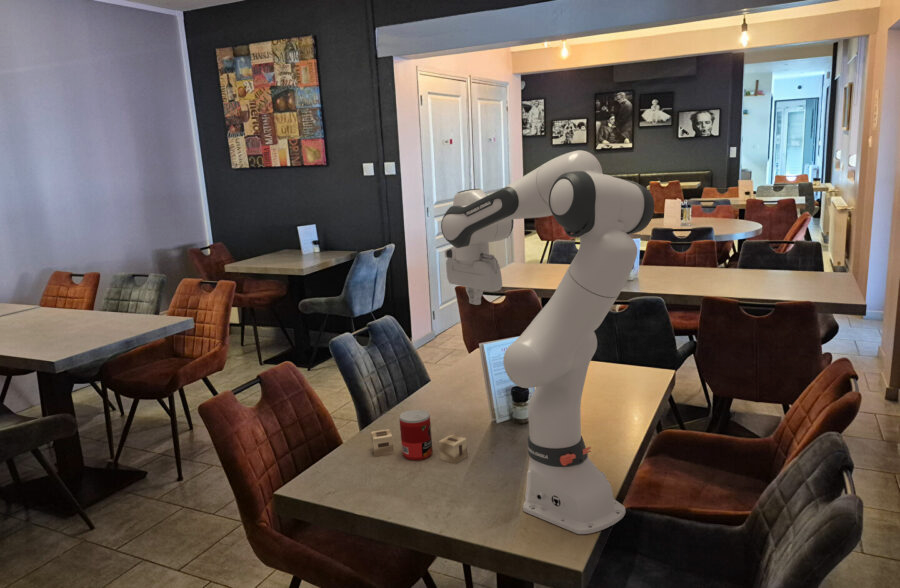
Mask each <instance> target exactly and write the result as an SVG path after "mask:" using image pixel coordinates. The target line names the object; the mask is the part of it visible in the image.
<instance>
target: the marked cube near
mask: <svg viewBox="0 0 900 588" xmlns="http://www.w3.org/2000/svg"><path fill="white" fill-rule="evenodd" d="M467 442H468V441H467V438H466V437H462V436H459V435H455V434H450V435H448V436H445V437H444V438H441V439H440V440H438V447H439V448H438V450H439V459H440V460H442V461H445V462H448V463H450V464H454V465H456V464H457V463H459V462H461V461H462V460H464V459H466V458H468V445H467Z"/></svg>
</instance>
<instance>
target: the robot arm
mask: <svg viewBox="0 0 900 588" xmlns="http://www.w3.org/2000/svg"><path fill="white" fill-rule="evenodd" d="M452 203H453V204H452V206H449V208H447V210H446V211H445V213H444V215H443V217H442V219H441V222H440V230H441V233H442V236H443V237H444V239H445V240H446V242H447V243H449V244H450V245H451V246H452V247H449V248H448V249H445V251H444V257H445V258H446V262H445V267H446V276H447V277H446V278H447V281H448V282H449V284H451V285H455V286H461V287H465V292H466V294H467V297H468V303H469V304H470V305H471V304H472V305H475V306H479V305H481V304H482V297H483V293H484V291H486V292H490V293H492V292H498V291H500V290H502V287H503V280H502V273H501V271H502V270H501V267H500V264H499V261H498V260H497V258H496V257H495V255H494V254H490V247H489V245H490V244H489V243H492V242H500V241H503V240H506V239H507V238H509V236H511V234H512V232H513V229H514V220H518V219H519V220H520V219H536V218H546V217H550V216H553V218H554V219H555V221H556V222H557V224H559V225H560V226H561V227H562V228H563V229H564V232H565V234H566V236H568V237H570V238H573V239H574V238H579V247H578V250H577V253H576V254H575V256H574V258H573V259H572V261H571V262H570V265H569V266H568V268H567V270H566V272H565V273H564V275H563V276H562V278H561V281H560V282H559V284H558V286H557V288H556V289H555V291H554V293H553V295H551V297H550V299H549V300H548V302H547V303H546V304H545V305H544V306H543V308H542V309H541V310H540V311H539V312H538V313H537V315H536V316H535V317H534V318H533V319H532V321H531V322H530V324H529V325H528V326H527V327H526V329H525V330H524V331H523V332H522V333H521V334H520V335H519V336H518V338H516V339H515V341H513V342H512V343H511V344H510V345H509V346H508V347H507V348H506V350H505V351H504V355H503V367H504V370H505V373H506V375H507V377H508V378H509V380H510V381H511V382H512V383H513V384H515V385H516V386H518V387H519V388H522V389H523V388H524V389H532V388H535V389H534V392H533V393H532V395H531V396H530V398H529V402H528V407H527V411H528V414H527V415H528V428H529V429H528V432H529V435H528V436H527V444H526V445H527V454H528V456H529V463H528V469H527V474H526V489H525V494H524V502H523V505H522V506H523V507H522V511H523V512H525V513H527V514H529V515H531V516H534V517H537V518H539V519H541V520H543V521H546V522H548V523H551V524H553V525H555V526H558V527H560V528H563V529H565V530H567V531H570V532H572V533H574V534H577V535H588V534H592V533H596V532H600V531H603V530H605V529H608V528H609V527H611V526H613V525H615V524H616V523H618V522H619V521H621V520H622V519H623V518H624V516H625V515H626V506H624V505H623V504H622V503H620V502H619V501H618V500H616V499H615V498H614V493H613V488H612V485H611V483H610V481H608V479H607V475H606V473H605V472H603V471H600V469H598V467H597V466H596V465H595V463H594V462H593V461H592V460H591V459H590V458H589V453H590V452H592V450H590V449H591V448H592V446H588V447H586V444H585V441H584V438H583V436H582V434H581V433H582V423H581V421H582V419H581V416H582V412H581V411H582V409H581V407H582V406H581V405H582V397H583V391H584V387H585V382H586V378H587V374H588V370H589V366H590V364H591V361H592V359H593V357H594V355H595V353H596V351H597V349H598V339H597V334H596V332H595V331H596V330H597V329H598V328H599V327H600V326H601V324H602V323H603V321H604V320H605V318H606V316H607V315H608V313H609V312H610V310H611V308H612V307H613V305H614V304H615V302H616V300H617V299H618V297H619V296H620V294H621V292H622V291H623V289H624V287H625V284H626V283H627V282H628V280H629V277H630V276H631V273H632V271H633V268H634V265H635V262H636V260H637V256H638V247H637V244H636V242H635V240H634V239H633V238H632V236H630V235H633V234H637V233H640V232H642V231H643V230H645V229H646V228H647V227H648V225H649V224H650V223H651V221H652V218H653V216H654V213H655V199H654V197H653V195H652V193H651V191H650V190H649V189H648V188H646V187H645V186H644V185H641V184H639V183H638V182H636V181H633V180H629V179H623V178H620V177H615V176H612V175H610V174H606V173H605V174H604V173H603V168H602V166H601V163H600V161H599V160H598V158H597V157H596V156H595V155H594V154H592V153H591V152H589V151H586V150H581V149H579V150H574V151H570V152H566V153H564V154H563V153H562V154H561V155H559V156H556V157H555V158H552V159H550V160H549V161H547V162H545V163H543V164H541V165H540V166H538V167H537V168H535V169H533V170H531V171H530V172H528V173H526V174H525V175H523V176H522V177H520V178H518V179H517V180H514V181H513V182H511V183H509V184H508V185H506V186H505V187H503V188H500V189H499V190H496V191H494V192H493V193H490V194H488V195H486V193H485V191H484V190H483V189H480V188H470V189H464V190H461V191H457V192H456V193H455V194H454V196H453V202H452Z"/></svg>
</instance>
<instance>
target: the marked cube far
mask: <svg viewBox="0 0 900 588" xmlns="http://www.w3.org/2000/svg"><path fill="white" fill-rule="evenodd" d="M370 435H371V445H372V452H373V455H374V457H380V456H387V455H394V453H395V451H394V442H393V435H392V432H391V430H390V428H387V429H380V430H375V431H371V432H370Z"/></svg>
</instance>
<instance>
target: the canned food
mask: <svg viewBox="0 0 900 588" xmlns="http://www.w3.org/2000/svg"><path fill="white" fill-rule="evenodd" d="M431 427H432V425H431V414H430V412H429V411H426V410H424V409H423V410H422V409H410V410H406V411H403V412H401V413H400V415H399V430H400V439H401V440H400V441H401V449H402V450H401V451H402V452H401V453H402V455H403V457H404V458H405V459H407V460H410V461H424V460H425V459H429V458H430V457H431V456H432V455H433V441H432V440H433V439H432V428H431Z"/></svg>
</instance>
